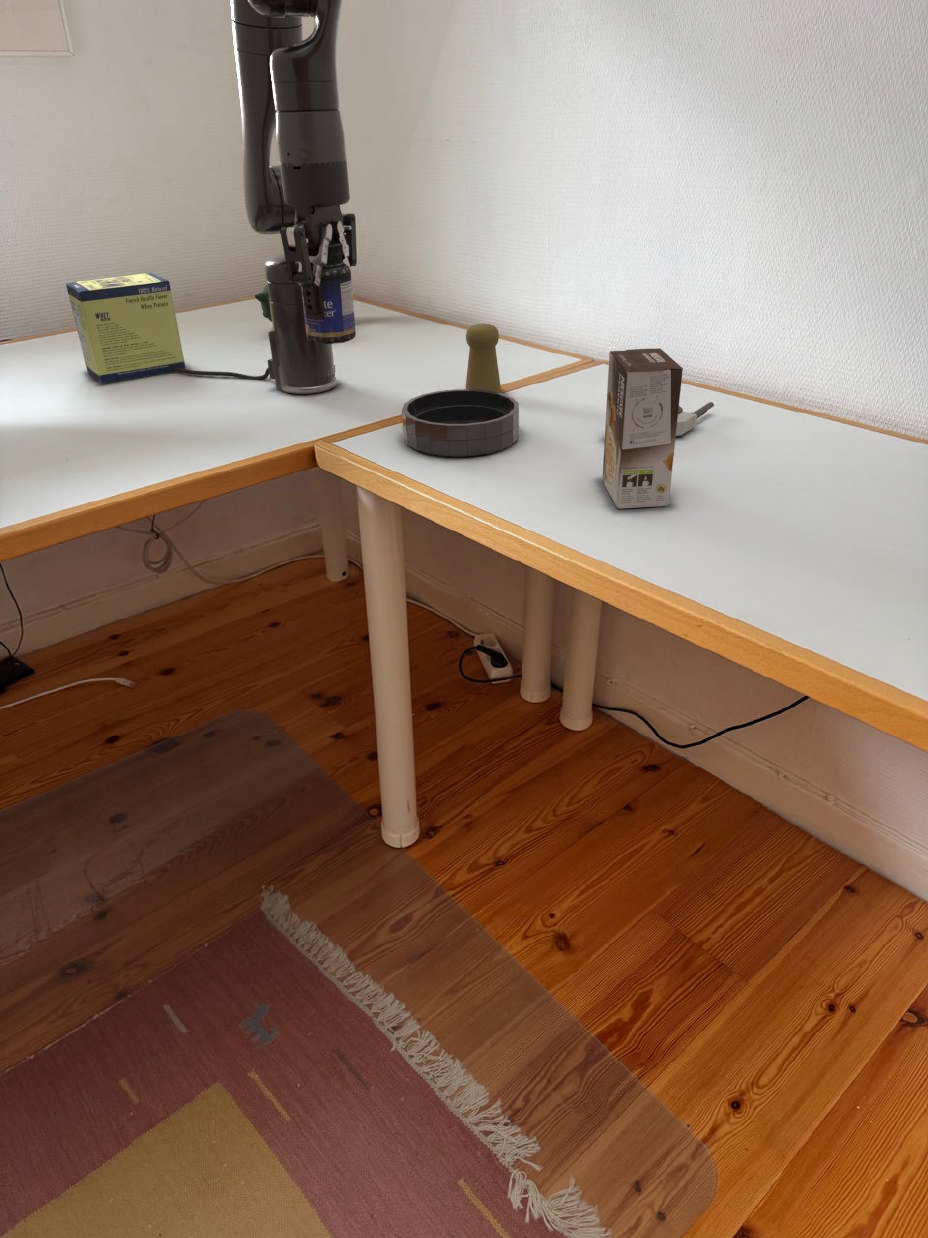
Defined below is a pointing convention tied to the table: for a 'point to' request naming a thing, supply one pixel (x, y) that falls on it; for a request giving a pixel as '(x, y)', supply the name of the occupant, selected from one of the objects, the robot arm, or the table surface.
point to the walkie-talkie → (690, 418)
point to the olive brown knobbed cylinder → (482, 358)
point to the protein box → (126, 326)
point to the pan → (460, 422)
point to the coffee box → (640, 426)
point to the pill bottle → (333, 302)
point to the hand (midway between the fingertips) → (328, 311)
